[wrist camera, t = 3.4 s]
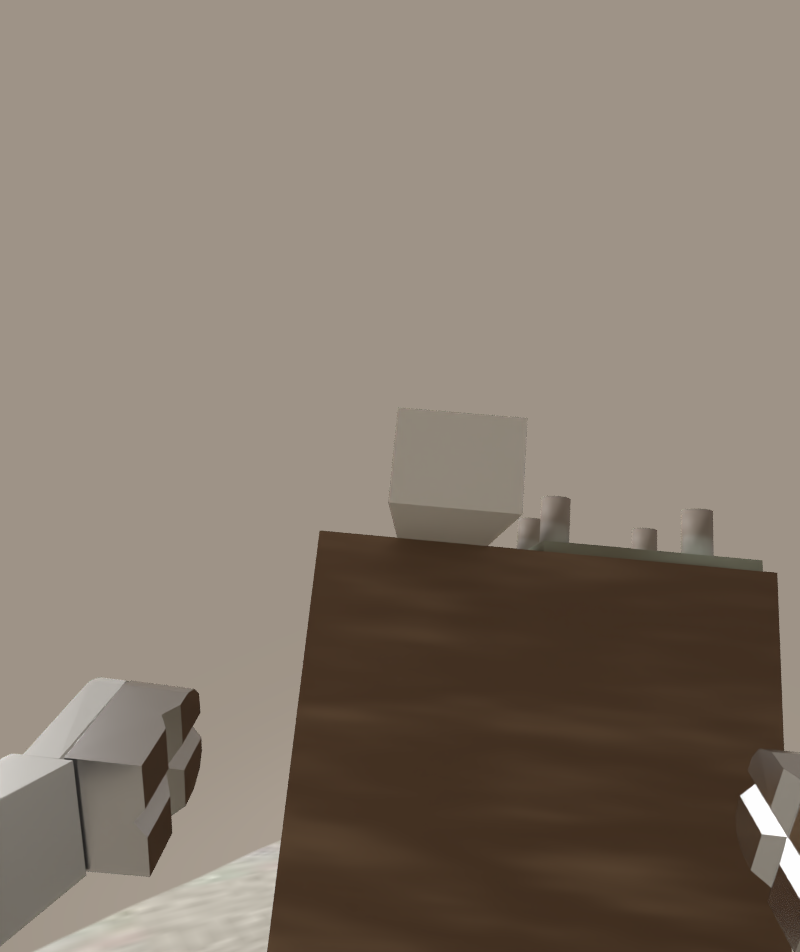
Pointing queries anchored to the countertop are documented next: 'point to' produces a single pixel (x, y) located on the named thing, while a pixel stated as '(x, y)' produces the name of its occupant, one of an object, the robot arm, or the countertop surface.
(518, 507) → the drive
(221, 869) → the countertop surface
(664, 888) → the wooden peg block
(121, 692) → the robot arm
